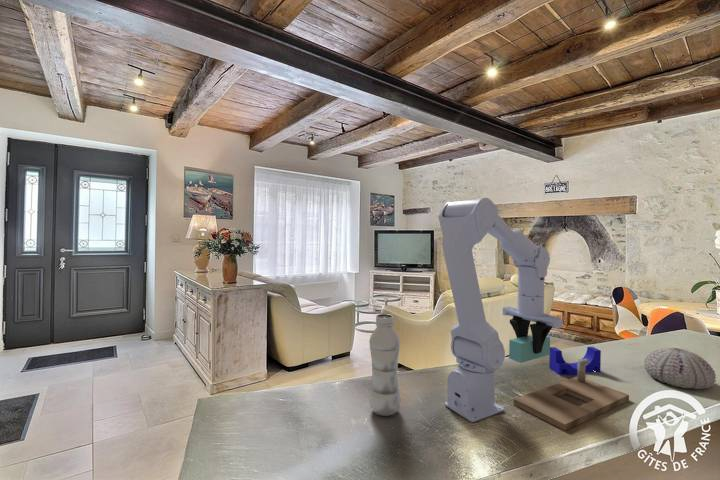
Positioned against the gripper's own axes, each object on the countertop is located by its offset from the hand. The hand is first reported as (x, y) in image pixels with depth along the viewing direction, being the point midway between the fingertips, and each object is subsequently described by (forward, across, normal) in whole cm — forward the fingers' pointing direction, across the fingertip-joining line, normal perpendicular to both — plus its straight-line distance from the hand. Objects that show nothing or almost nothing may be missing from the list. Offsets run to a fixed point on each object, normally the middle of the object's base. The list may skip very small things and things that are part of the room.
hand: (530, 350), depth 83 cm
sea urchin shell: (+9, -17, -34) cm, 39 cm away
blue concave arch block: (+9, -1, -18) cm, 20 cm away
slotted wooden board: (+8, -10, 0) cm, 13 cm away
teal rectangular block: (+2, 0, 0) cm, 2 cm away
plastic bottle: (+9, +7, +38) cm, 40 cm away
